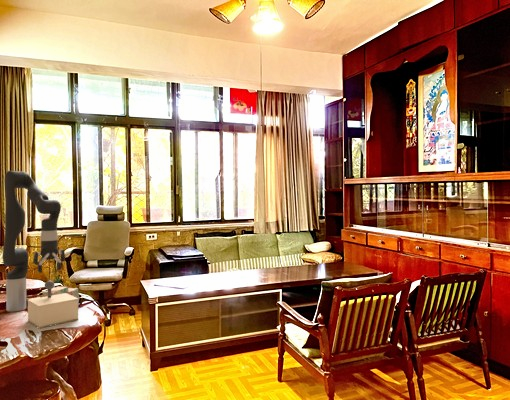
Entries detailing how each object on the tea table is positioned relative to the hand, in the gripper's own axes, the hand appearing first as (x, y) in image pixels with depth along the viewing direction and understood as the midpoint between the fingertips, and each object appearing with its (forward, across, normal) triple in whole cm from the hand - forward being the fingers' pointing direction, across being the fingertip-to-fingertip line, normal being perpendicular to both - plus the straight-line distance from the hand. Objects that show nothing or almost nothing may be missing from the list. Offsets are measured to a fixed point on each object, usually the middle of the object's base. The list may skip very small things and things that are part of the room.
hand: (49, 271), depth 196 cm
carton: (+24, 0, +5) cm, 24 cm away
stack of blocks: (+24, -10, -12) cm, 29 cm away
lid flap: (+14, 0, +5) cm, 15 cm away
